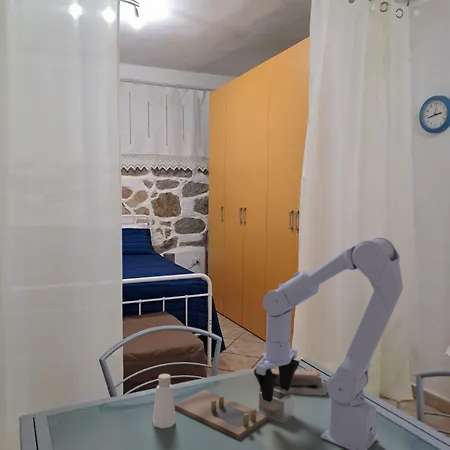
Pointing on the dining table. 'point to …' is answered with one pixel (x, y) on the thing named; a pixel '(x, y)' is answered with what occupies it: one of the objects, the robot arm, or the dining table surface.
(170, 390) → the salt shaker
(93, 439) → the dining table surface
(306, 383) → the packaged product
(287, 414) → the block
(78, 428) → the dining table surface
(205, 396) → the walnut tray
